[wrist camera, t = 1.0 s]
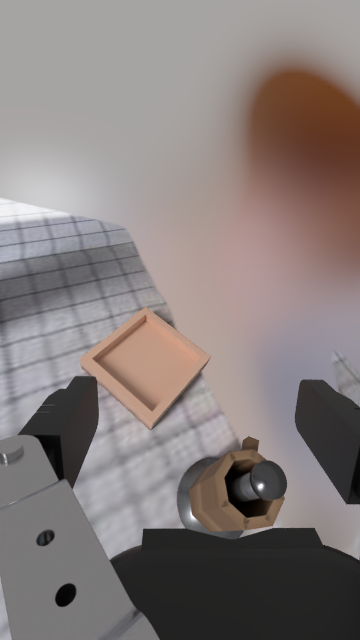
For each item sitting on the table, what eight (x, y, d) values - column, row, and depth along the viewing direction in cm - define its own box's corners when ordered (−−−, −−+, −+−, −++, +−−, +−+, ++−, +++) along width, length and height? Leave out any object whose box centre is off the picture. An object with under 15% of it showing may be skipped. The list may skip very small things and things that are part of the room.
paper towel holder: (161, 506, 30) (191, 488, 19) (204, 444, 35) (249, 400, 23) (223, 567, 28) (299, 588, 17) (260, 493, 33) (339, 471, 21)
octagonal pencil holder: (180, 503, 30) (204, 492, 22) (214, 450, 34) (246, 424, 26) (221, 543, 29) (263, 546, 21) (253, 483, 33) (298, 467, 25)
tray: (81, 367, 38) (79, 358, 36) (144, 316, 44) (145, 306, 42) (150, 430, 35) (152, 424, 33) (206, 365, 41) (210, 356, 39)
